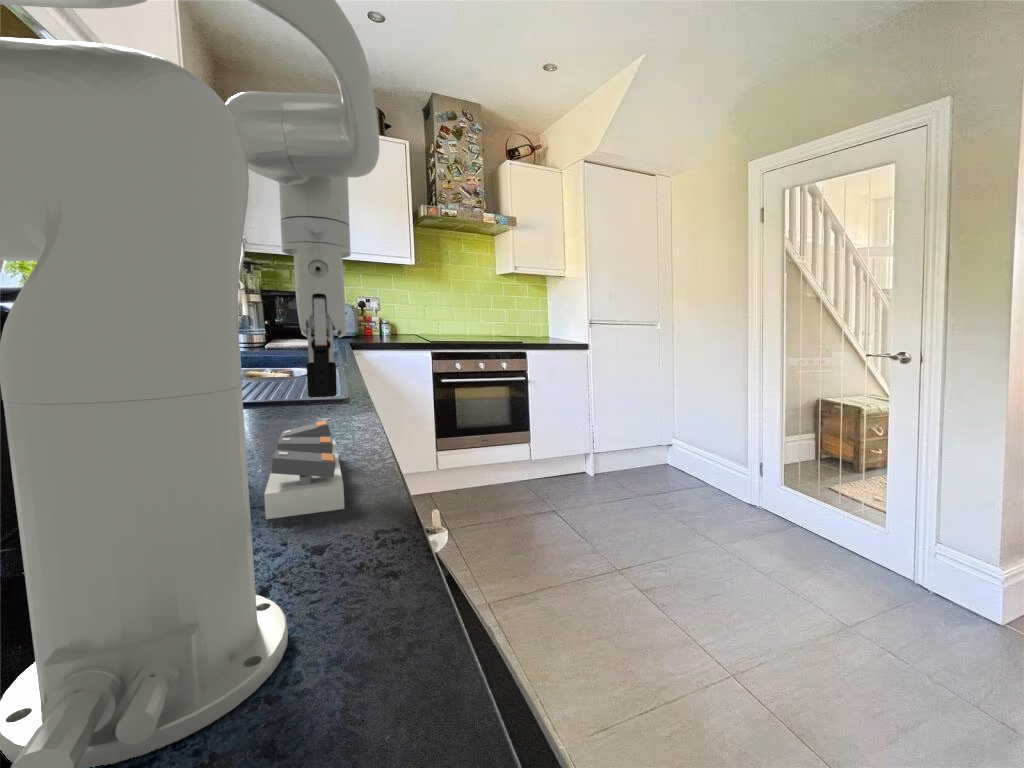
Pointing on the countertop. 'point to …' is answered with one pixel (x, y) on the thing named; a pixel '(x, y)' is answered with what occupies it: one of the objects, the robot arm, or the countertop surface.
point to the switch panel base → (304, 493)
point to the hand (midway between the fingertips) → (322, 395)
